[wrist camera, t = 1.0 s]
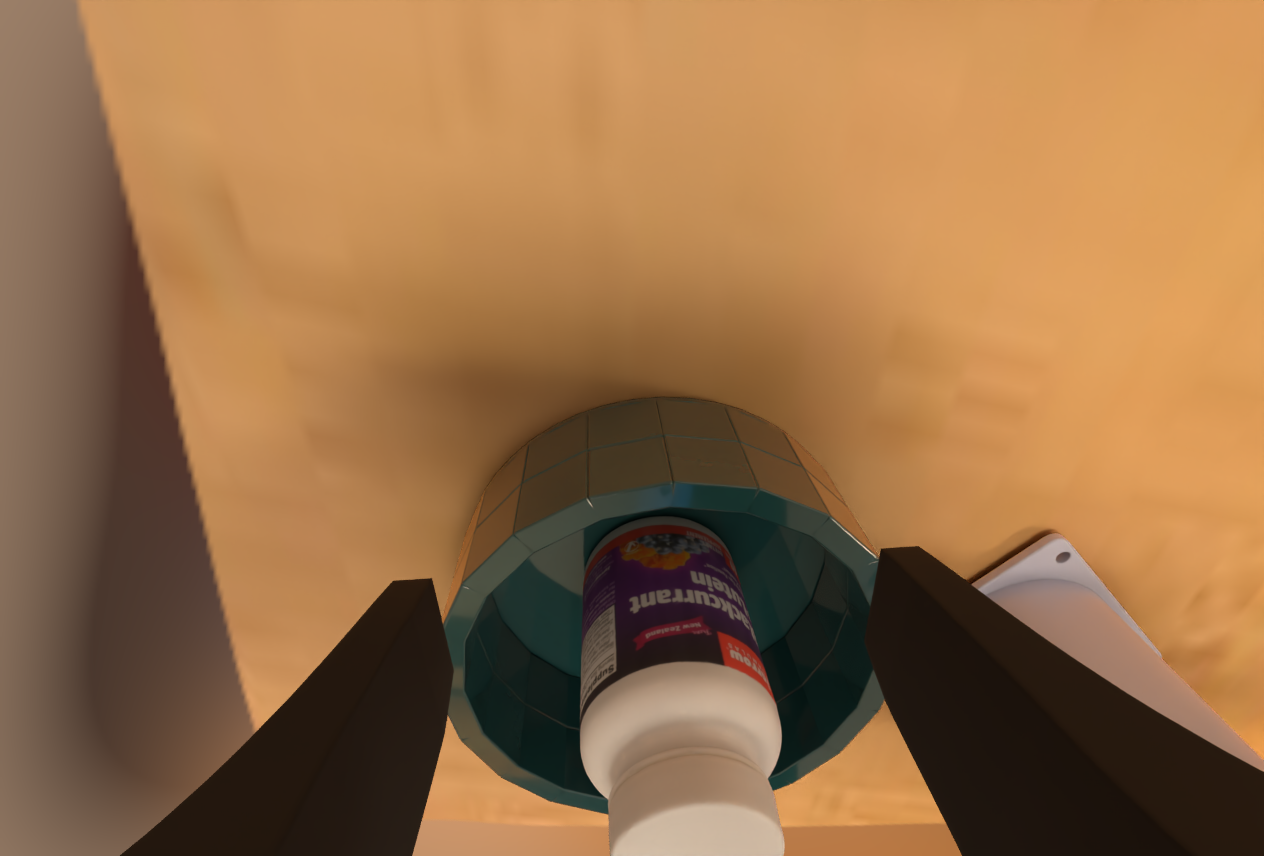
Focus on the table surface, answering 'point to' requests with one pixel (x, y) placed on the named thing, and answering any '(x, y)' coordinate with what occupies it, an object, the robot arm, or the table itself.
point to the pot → (627, 491)
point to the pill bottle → (676, 696)
